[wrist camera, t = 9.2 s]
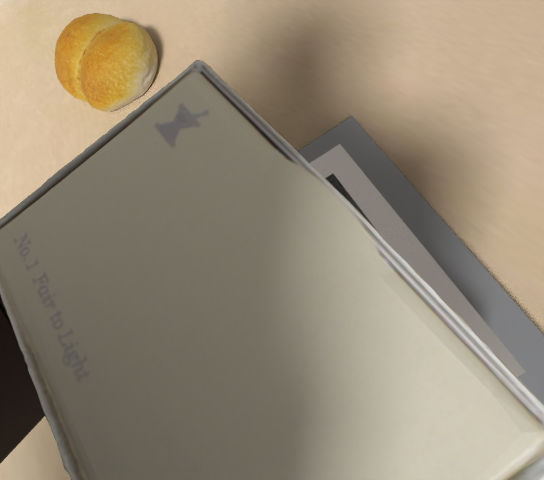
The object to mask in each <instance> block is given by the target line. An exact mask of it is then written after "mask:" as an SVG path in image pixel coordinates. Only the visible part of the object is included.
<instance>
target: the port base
mask: <svg viewBox="0 0 544 480" xmlns="http://www.w3.org/2000/svg"><path fill="white" fill-rule="evenodd" d="M339 144H341V146H342V147H343V148H344V149H345V151H346V152H347V153H348V154H349V156H350V157H351V158H352V159H353V160H354V162H355V163H356V164H357V165H358V167H359V168H360V169H361V170H362V171H363V173H364V174H365V175H366V176H367V178H368V179H369V180H370V181H371V183H372V184H373V185H374V186H375V187H376V189H377V190H378V191H379V192H380V194H381V195H382V196H383V197H384V198H385V200H386V201H387V202H388V203H389V205H390V206H391V207H392V208H393V210H394V211H395V212H396V213H397V214H398V216H399V217H400V218H401V219H402V221H403V222H404V223H405V224H406V225H407V227H408V228H409V229H410V230H411V232H412V233H413V234H414V235H415V237H416V238H417V239H418V240H419V241H420V243H421V244H422V245H423V246H424V248H425V249H426V250H427V251H428V252H429V254H430V255H431V256H432V257H433V259H434V260H435V261H436V262H437V264H438V265H439V266H440V267H441V268H442V270H443V271H444V272H445V273H446V275H447V276H448V277H449V278H450V279H451V281H452V282H453V283H454V284H455V286H456V287H457V288H458V289H459V291H460V292H461V293H462V294H463V295H464V297H465V298H466V299H467V300H468V302H469V303H470V304H471V305H472V306H473V308H474V309H475V310H476V311H477V313H478V314H479V315H480V316H481V318H482V319H483V320H484V321H485V322H486V324H487V325H488V326H489V327H490V329H491V330H492V331H493V332H494V333H495V335H496V336H497V337H498V338H499V340H500V341H501V342H502V343H503V345H504V346H505V347H506V348H507V349H508V351H509V352H510V353H511V354H512V356H513V357H514V358H515V359H516V360H517V362H518V363H519V364H520V365H521V367H522V368H523V369H524V370H525V373H524V374H522V375H520V376H518V378H519V379H520V380H521V381H522V383H523V384H524V385H525V386H526V387H527V388H528V389H529V390H530V391H531V392H532V393H533V394H534V396H535V397H536V398H537V399H538V400H539V401H540V402H541V403H542V404H543V405H544V335H543V334H542V333H541V332H540V330H539V329H538V328H537V327H536V326H535V325H534V324H533V322H532V321H531V320H530V319H529V318H528V317H527V316H526V314H525V313H524V312H523V311H522V310H521V309H520V307H519V306H518V305H517V304H516V303H515V302H514V301H513V299H512V298H511V297H510V296H509V295H508V294H507V293H506V291H505V290H504V289H503V288H502V287H501V286H500V285H499V283H498V282H497V281H496V280H495V279H494V278H493V277H492V275H491V274H490V273H489V272H488V271H487V270H486V269H485V267H484V266H483V265H482V264H481V263H480V262H479V261H478V259H477V258H476V257H475V256H474V255H473V254H472V253H471V251H470V250H469V249H468V248H467V247H466V246H465V245H464V243H463V242H462V241H461V240H460V239H459V238H458V237H457V235H456V234H455V233H454V232H453V231H452V230H451V229H450V227H449V226H448V225H447V224H446V223H445V222H444V221H443V219H442V218H441V217H440V216H439V215H438V214H437V213H436V211H435V210H434V209H433V208H432V207H431V206H430V205H429V203H428V202H427V201H426V200H425V199H424V198H423V197H422V195H421V194H420V193H419V192H418V191H417V190H416V189H415V187H414V186H413V185H412V184H411V183H410V182H409V181H408V179H407V178H406V177H405V176H404V175H403V174H402V173H401V171H400V170H399V169H398V168H397V167H396V166H395V165H394V163H393V162H392V161H391V160H390V159H389V158H388V157H387V155H386V154H385V153H384V152H383V151H382V150H381V149H380V147H379V146H378V145H377V144H376V143H375V142H374V141H373V139H372V138H371V137H370V136H369V135H368V134H367V133H366V131H365V130H364V129H363V128H362V127H361V126H360V124H359V123H358V122H357V121H356V120H355V119H354V118H353V116H351V117H350V118H348V119H347V120H345V121H344V122H342V123H341V124H339V125H338V126H336V127H334V128H333V129H331V130H330V131H328V132H327V133H325V134H324V135H322V136H321V137H319V138H317V139H316V140H314V141H313V142H311V143H310V144H308V145H307V146H305V147H304V148H302V149H300V150H299V151H297V152H298V153H299V154H300V155H301V156H302V157H303V158H304V159H305V160H306V161H307V162H308V163H311V162H312V161H314V160H315V159H317V158H319V157H320V156H322V155H323V154H325V153H326V152H328V151H329V150H331V149H333V148H334V147H336V146H337V145H339Z"/></svg>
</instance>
